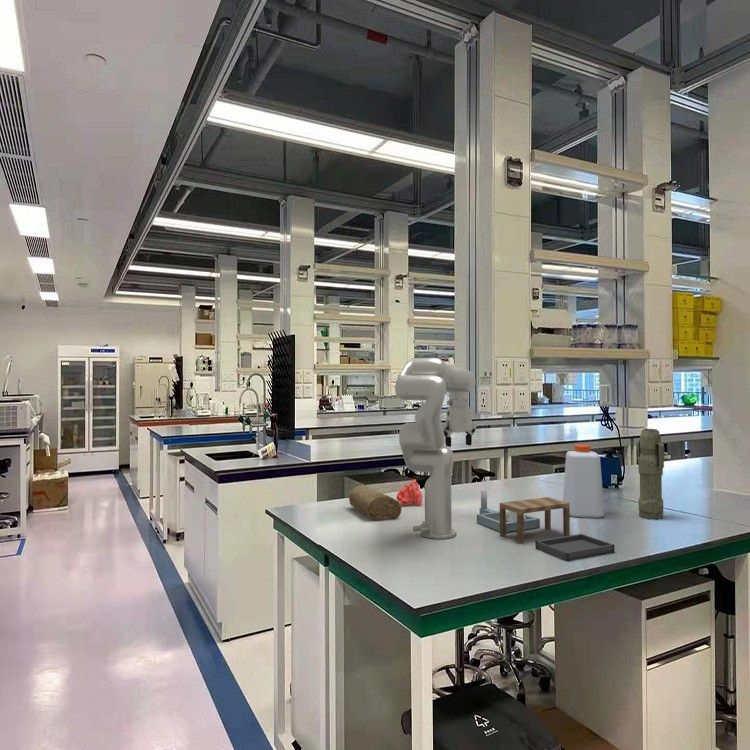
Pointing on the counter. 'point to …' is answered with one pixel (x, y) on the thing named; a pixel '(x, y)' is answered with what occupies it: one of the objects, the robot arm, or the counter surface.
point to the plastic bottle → (583, 483)
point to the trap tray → (574, 547)
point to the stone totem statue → (650, 474)
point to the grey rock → (512, 516)
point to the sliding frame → (493, 517)
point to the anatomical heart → (410, 494)
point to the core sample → (374, 503)
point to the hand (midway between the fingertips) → (458, 445)
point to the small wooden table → (534, 506)
